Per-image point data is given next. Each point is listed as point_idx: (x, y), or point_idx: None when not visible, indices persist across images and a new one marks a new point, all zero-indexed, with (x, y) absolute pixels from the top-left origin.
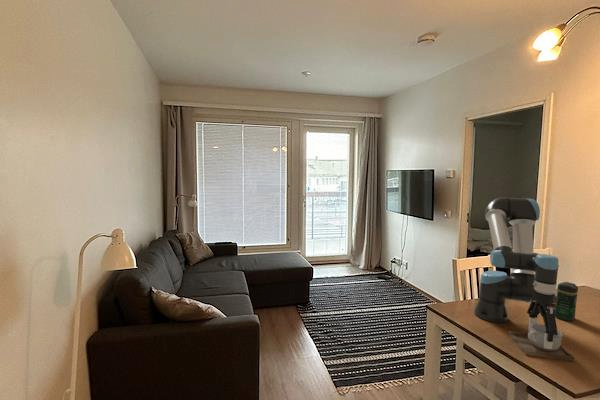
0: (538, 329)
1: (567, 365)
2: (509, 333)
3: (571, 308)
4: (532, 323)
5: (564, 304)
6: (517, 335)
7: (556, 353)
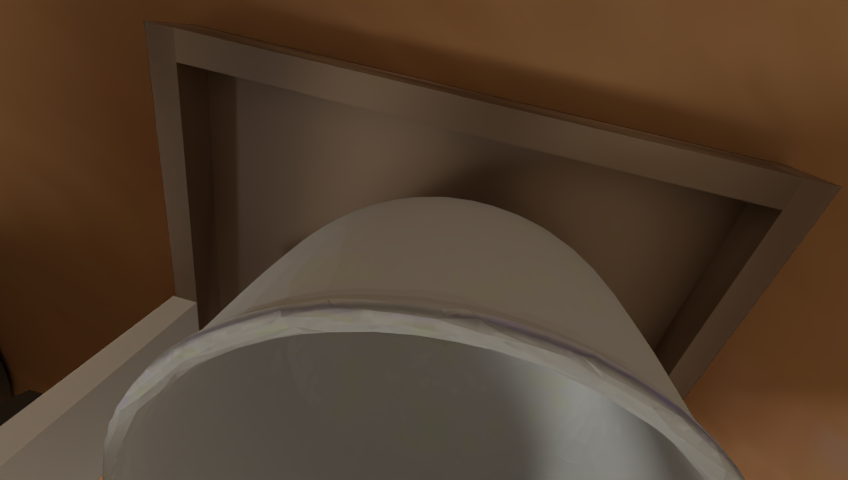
0: (217, 413)
1: (825, 319)
2: None
3: None
4: (73, 470)
5: None
6: None
7: None
